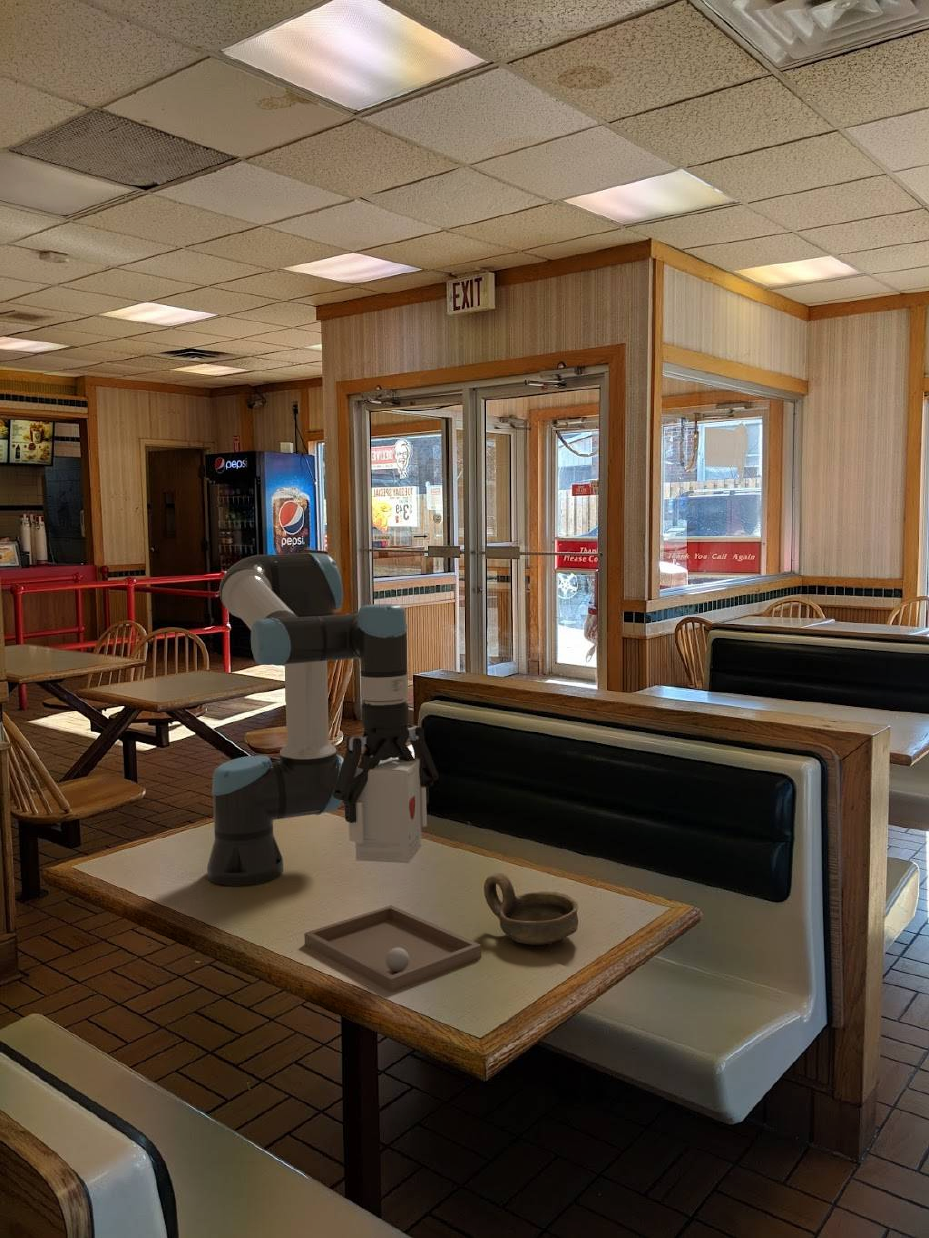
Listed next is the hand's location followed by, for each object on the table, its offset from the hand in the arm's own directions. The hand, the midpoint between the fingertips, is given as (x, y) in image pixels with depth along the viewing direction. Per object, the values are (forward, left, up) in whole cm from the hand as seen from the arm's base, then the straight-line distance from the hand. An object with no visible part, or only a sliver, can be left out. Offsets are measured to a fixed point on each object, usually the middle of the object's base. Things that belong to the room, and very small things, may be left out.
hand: (389, 833), depth 163 cm
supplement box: (0, 0, -4) cm, 4 cm away
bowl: (+11, +21, -20) cm, 31 cm away
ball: (+7, -4, -19) cm, 21 cm away
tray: (0, 0, -20) cm, 20 cm away
